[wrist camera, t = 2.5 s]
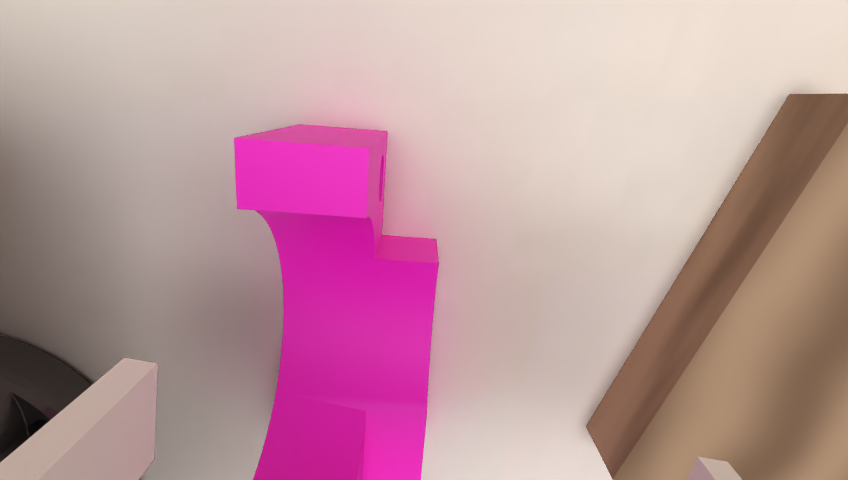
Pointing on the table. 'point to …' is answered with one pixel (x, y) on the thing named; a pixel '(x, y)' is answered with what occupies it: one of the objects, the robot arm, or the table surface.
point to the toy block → (341, 307)
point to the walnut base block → (750, 324)
